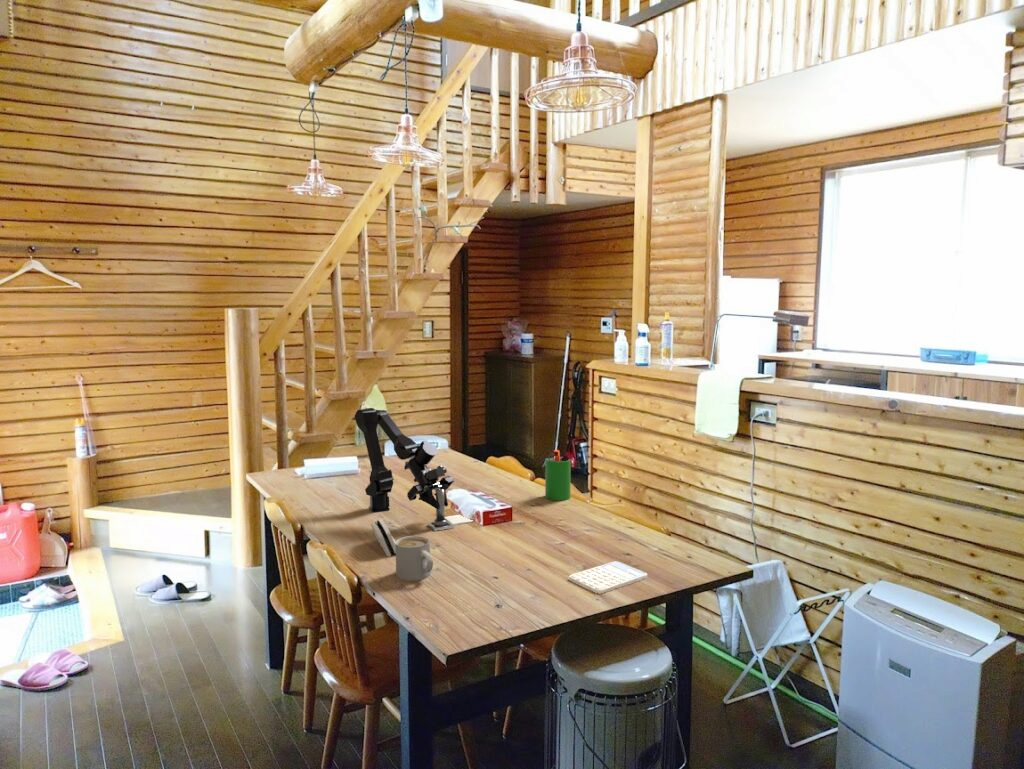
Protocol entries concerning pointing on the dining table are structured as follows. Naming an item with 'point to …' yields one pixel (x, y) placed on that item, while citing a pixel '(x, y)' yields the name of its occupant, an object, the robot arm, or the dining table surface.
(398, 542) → the coffee mug
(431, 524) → the gray square frame
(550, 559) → the dining table surface
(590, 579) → the calculator
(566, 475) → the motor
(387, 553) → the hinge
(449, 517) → the mat
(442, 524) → the grey metal post
